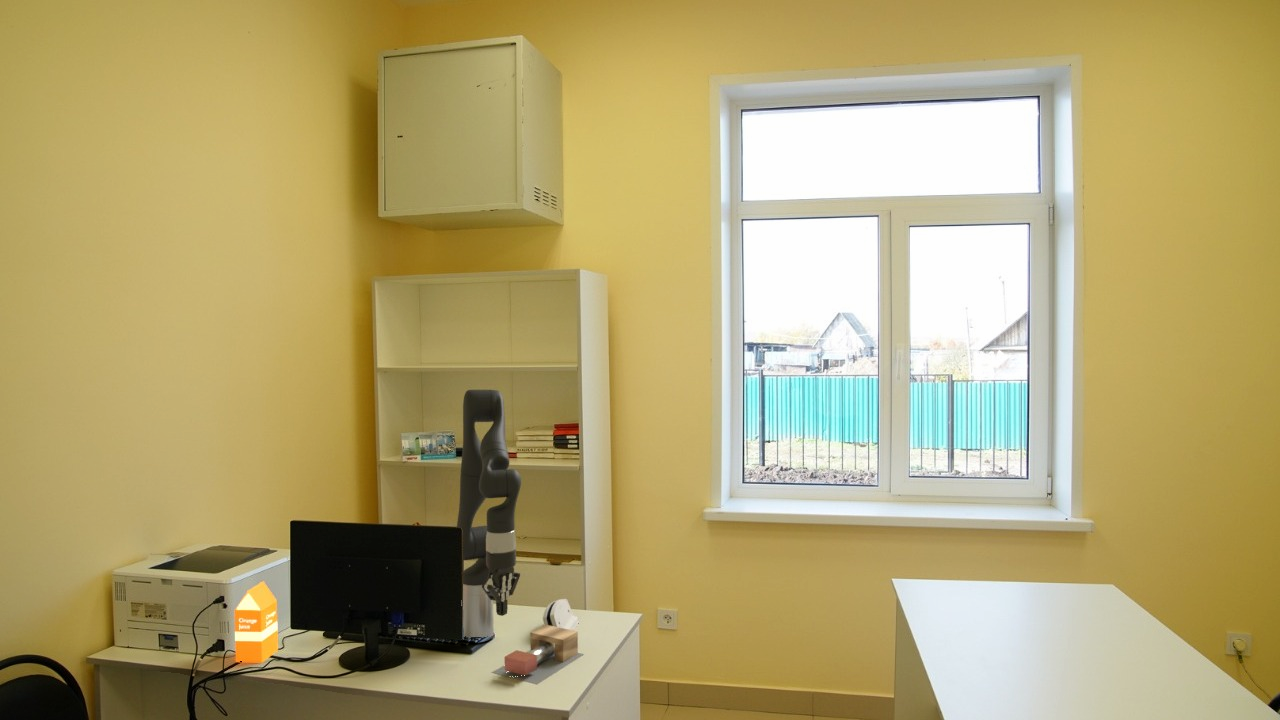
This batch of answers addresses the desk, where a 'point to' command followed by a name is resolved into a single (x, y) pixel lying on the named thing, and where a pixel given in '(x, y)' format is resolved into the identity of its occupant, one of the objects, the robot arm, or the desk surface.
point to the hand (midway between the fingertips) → (501, 614)
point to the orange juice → (256, 625)
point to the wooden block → (556, 641)
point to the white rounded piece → (560, 615)
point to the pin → (528, 659)
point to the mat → (539, 670)
